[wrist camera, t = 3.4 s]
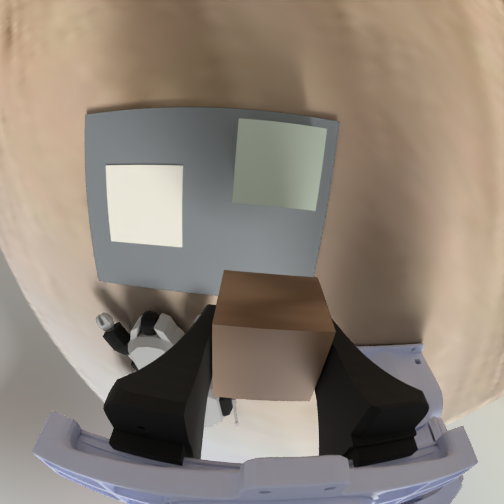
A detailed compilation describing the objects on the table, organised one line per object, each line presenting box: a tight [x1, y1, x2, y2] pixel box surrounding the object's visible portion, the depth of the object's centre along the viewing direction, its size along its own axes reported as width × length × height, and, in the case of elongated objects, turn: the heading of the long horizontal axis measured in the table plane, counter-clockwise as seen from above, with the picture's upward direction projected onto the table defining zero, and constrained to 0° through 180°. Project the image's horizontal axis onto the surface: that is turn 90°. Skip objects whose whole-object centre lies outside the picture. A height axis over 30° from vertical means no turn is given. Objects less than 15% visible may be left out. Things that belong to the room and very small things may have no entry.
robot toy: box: [96, 311, 238, 427], centre depth 25 cm, size 12×4×15 cm
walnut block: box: [212, 270, 336, 401], centre depth 13 cm, size 4×4×4 cm
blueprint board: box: [85, 107, 339, 296], centre depth 19 cm, size 18×14×1 cm
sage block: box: [232, 118, 327, 211], centre depth 16 cm, size 4×4×4 cm
